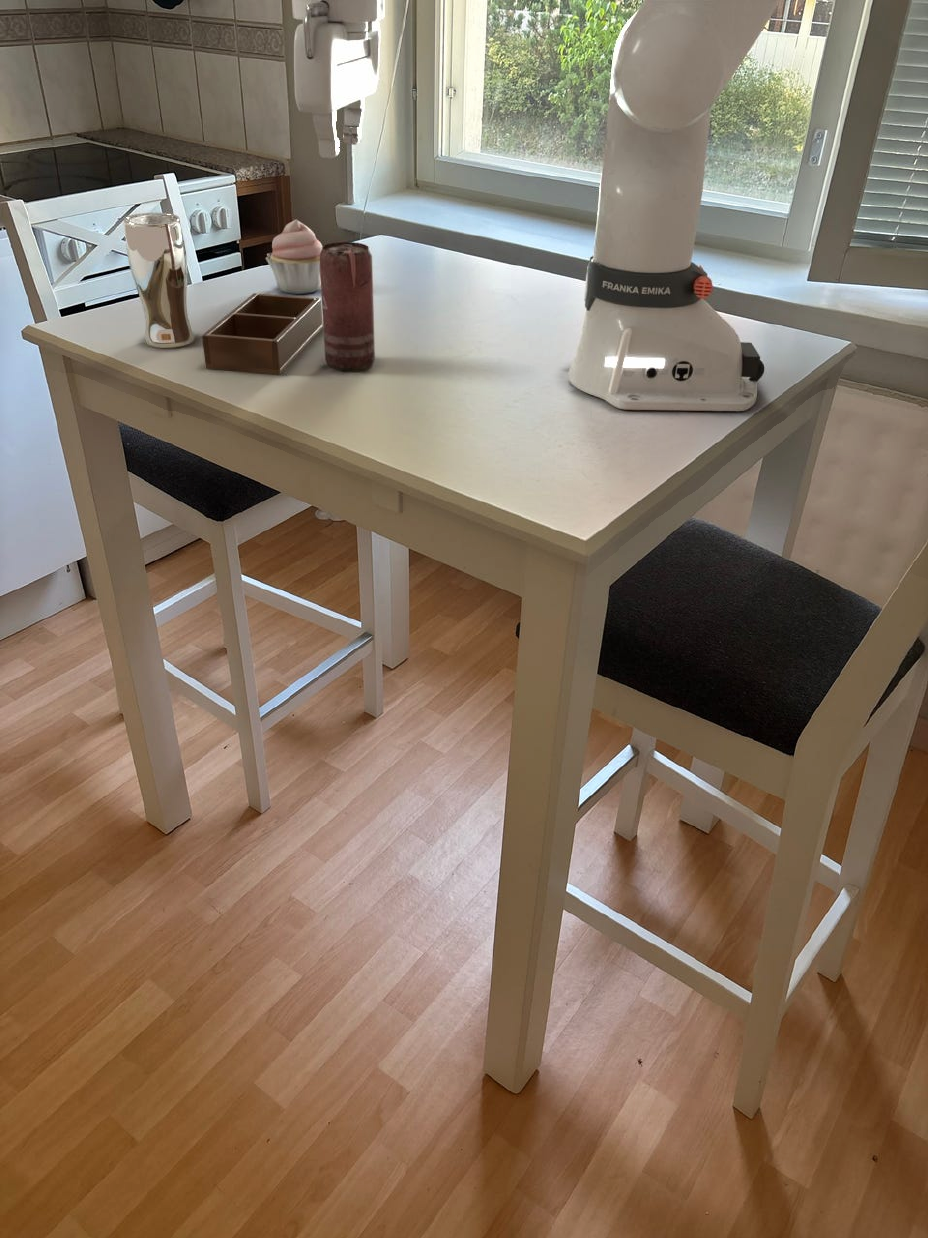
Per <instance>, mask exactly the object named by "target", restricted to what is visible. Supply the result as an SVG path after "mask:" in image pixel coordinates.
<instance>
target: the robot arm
mask: <svg viewBox="0 0 928 1238" xmlns="http://www.w3.org/2000/svg"><path fill="white" fill-rule="evenodd" d="M781 1H782V0H643V1H642V3H641V4H640V5H639V7H638V8H637V10H636V12H635V13H634V14H633V15H632V16H631V17H630V18H629V19H628V21H627V22H626V23H625V25H624V26H623V28H622V30H621V31H620V33H619V36H618V38H617V39H616V44H615V46H614V52H613V56H612V65H611V77H610V78H611V79H610V89H609V98H608V109H607V116H606V117H607V118H606V127H605V137H604V148H603V156H602V157H603V158H602V165H601V174H600V175H601V176H600V185H599V193H598V194H599V195H598V205H597V215H596V225H595V235H594V245H593V255H591V256H590V258H589V261H588V266H587V267H586V275H585V286H584V298H583V301H584V307H585V314H584V319H583V324H582V329H581V333H580V337H579V341H578V345H577V348H576V352H575V355H574V358H573V360H572V363H571V366H570V368H569V370H568V373H567V380H568V381H569V382H570V384H571V385H573V386H574V387H575V388H576V389H578V390H580V391H582V392H584V393H585V394H588V395H590V396H593V397H596V398H599V399H602V400H604V401H606V402H607V403H608V404H610V405H611V406H612V407H615V408H617V409H620V410H626V411H627V410H629V411H630V410H631V411H695V412H696V411H698V412H700V411H702V412H703V411H705V412H744V411H747V410H749V409H751V408H752V407H753V406H754V405H755V403H756V401H757V396H758V385H757V382H758V381H759V380H760V379H761V378H762V377H763V375H764V373H765V364H764V362H763V361H762V360H761V356H760V354H759V352H758V351H757V349H756V347H755V346H754V344H753V343H752V342H747V341H746V342H744V341H743V342H742V341H741V340H740V337H739V335H738V333H737V331H736V330H735V328H733V326H732V325H731V324H730V323H729V322H727V320H725V319H724V317H722V316H721V315H720V314H719V313H718V312H717V310H715V309H714V307H712V306H711V305H710V304H709V303H708V302H707V301H706V300H705V299H706V298H707V299H708V298H709V297H710V295H712V294H713V290H714V288H713V280H712V279H711V278H710V277H709V276H708V273H707V272H706V271H705V270H704V268H703V267H702V265H700V264H699V265H697V264H696V263H694V262H693V261H692V260H693V255H694V247H695V242H696V235H697V229H698V223H699V216H700V209H701V204H702V199H703V198H702V197H703V190H704V179H705V169H706V158H707V157H706V156H707V148H708V139H709V132H710V131H709V130H710V121H711V114H712V108H713V106H714V105H715V103H716V102H717V100H718V99H719V98H720V96H721V94H722V93H723V91H724V90H725V89H726V87H727V86H728V84H729V83H730V81H731V80H732V78H733V77H734V75H735V74H736V72H737V70H738V69H739V67H740V66H741V64H742V63H743V61H744V60H745V58H746V56H747V55H748V54H749V52H750V50H751V49H752V48H753V46H754V44H755V43H756V41H757V39H758V38H759V36H760V35H761V33H762V32H763V30H764V28H766V25H767V24H768V22H769V20H770V19H771V17H772V16H773V14H774V12H775V11H776V9H777V7H778V6H779V4H780V3H781ZM291 9H292V10H291V11H292V18H293V19H295V20H298V21H302V23H299V24H298V25H297V26H296V29H295V31H294V39H293V80H294V81H293V82H294V99H295V103H296V106H297V109H298V111H299V112H300V113H308V114H312V123H313V126H314V130H315V134H316V138H317V139H318V140H317V141H318V154H319V156H320V158H323V159H334V158H336V157H338V155H339V154H340V148H339V147H340V140H339V138H338V137H337V129H336V122H337V111H338V110H340V109H342V108H343V109H344V120H343V123H344V124H343V126H342V141H343V143H344V144H346V145H354V146H355V145H358V144H359V143H361V141H362V124H363V119H364V112H365V98H367V97H369V96H371V95H374V94H375V93H376V91H377V85H378V81H379V67H380V64H379V63H380V43H381V29H380V22H379V21H380V20H383V19H384V18H385V9H386V8H385V0H291Z"/></svg>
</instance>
